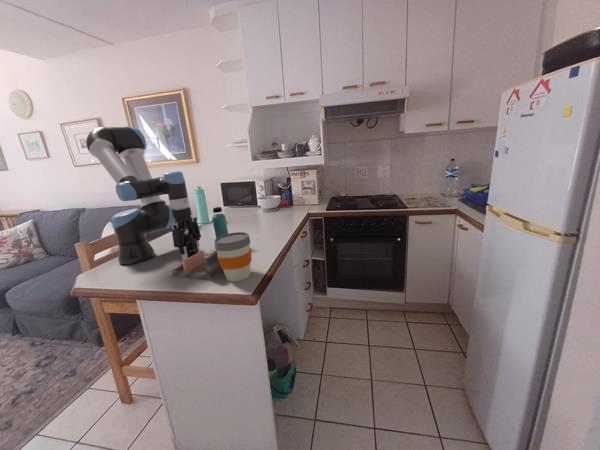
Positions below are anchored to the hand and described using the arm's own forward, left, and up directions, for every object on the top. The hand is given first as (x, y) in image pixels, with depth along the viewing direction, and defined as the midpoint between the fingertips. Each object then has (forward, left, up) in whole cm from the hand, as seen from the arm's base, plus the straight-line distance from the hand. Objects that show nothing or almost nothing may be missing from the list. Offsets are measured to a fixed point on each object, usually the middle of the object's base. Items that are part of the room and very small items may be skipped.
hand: (191, 257), depth 121 cm
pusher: (+11, -10, 0) cm, 15 cm away
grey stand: (+15, -10, -1) cm, 18 cm away
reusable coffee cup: (+33, -12, -1) cm, 35 cm away
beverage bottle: (+6, +16, -1) cm, 17 cm away
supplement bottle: (0, 0, -1) cm, 1 cm away
